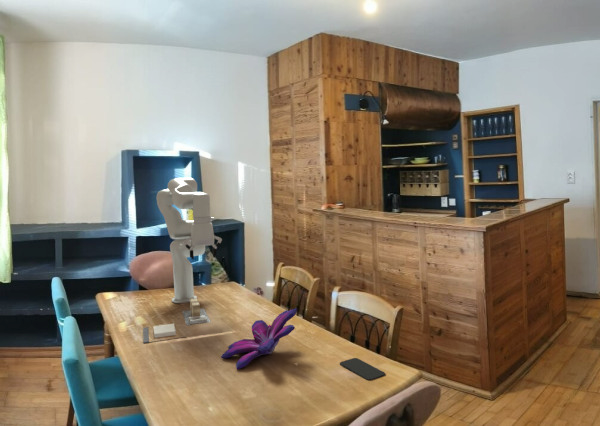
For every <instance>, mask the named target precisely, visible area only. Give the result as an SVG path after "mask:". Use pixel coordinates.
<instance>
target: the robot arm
mask: <svg viewBox="0 0 600 426" xmlns="http://www.w3.org/2000/svg"><path fill="white" fill-rule="evenodd" d="M210 201H211V200H210V194H209V193H206V192H203V191H198V183H197V181H196V180H195V179H194V178H192V177H176V178H171V179H170V180H169V182H167V188H166V189H161V190H159V191H158V192H157V194H156V203H157V207H158V210H159V211H160V213H161V214H162V216H163V218H164V222H165V225H166V229H167V231H168V232H167V233H168V235H169V238H170V239H172V240H173V241H172V242H171V243H169V244H170V245H169V250H170V254H171V260H172V269H173V270H172V271H173V274H172V275H173V289H174V297H172V298H171V302H172V303H174V304H187V303H190V299H194V298H197V299H198V296H197V295H195V293H194V274H193V271H194V270H193V265H192V262H190V260H189V259H188V258H191V260H194V257H197V256H202V255H204V254H205V252H206V246H212V257H213V258H214V259H215V258H216V256H217V249H218V247H219V246H220V245H221V243H222V241H223V239H222V238H221V237H219V236H216V235H215V233H214V225H213V222H212V221H215V220H214V217H211V203H210ZM173 205H174V206H175V207H174V206H173ZM178 209H179V210H190V209H191V210H192V218H193V219H188V220H187V219H183V218H182V214H181V212H180V211H179V210H178ZM215 240H217V242H216V243H215Z"/></svg>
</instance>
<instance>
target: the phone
mask: <svg viewBox="0 0 600 426" xmlns="http://www.w3.org/2000/svg"><path fill="white" fill-rule="evenodd" d="M339 365H340V366H341V367H342V368H344V369H346V370H348V371H350V372H352V373H353V374H354V375H357V376H358V377H360V378H362V379H365V381H374V380H377V379H379V378H383V377H385V376H386V372H384V371H383V370H380V369H379V368H377V367H375V366H373V365H371V364H369V363H367V362H365V361H364V360H362V359H359V358H357V357H353V358H350V359H346V360H342V361H340V362H339Z"/></svg>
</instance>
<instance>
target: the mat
mask: <svg viewBox="0 0 600 426" xmlns="http://www.w3.org/2000/svg"><path fill="white" fill-rule="evenodd" d="M142 329H143V335H142V336H143V337H142V339H143V344H149V343H151V341H150V335H149V334H150V333H149V332H150V331H149V327H143V328H142ZM184 338H186V336H182V337H180V339H184ZM177 339H178V340H179V337H176V338H173V340H177ZM170 340H172V338H169V339H166V341H170ZM163 341H165V339H161V340H159V342H163ZM156 342H158V340H154V341H152V343H156Z"/></svg>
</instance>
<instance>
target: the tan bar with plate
mask: <svg viewBox="0 0 600 426" xmlns="http://www.w3.org/2000/svg"><path fill="white" fill-rule="evenodd" d="M189 308H190V309H189V310H191V314H192V317H189V322H190V324H193V325H195V324H194V323H201V324H203V323H202V322H207V318H206V316H205V315H202V316H200V309H201V304H200V302H199V300H198V297H197V298H194V299H190V302H189Z"/></svg>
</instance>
